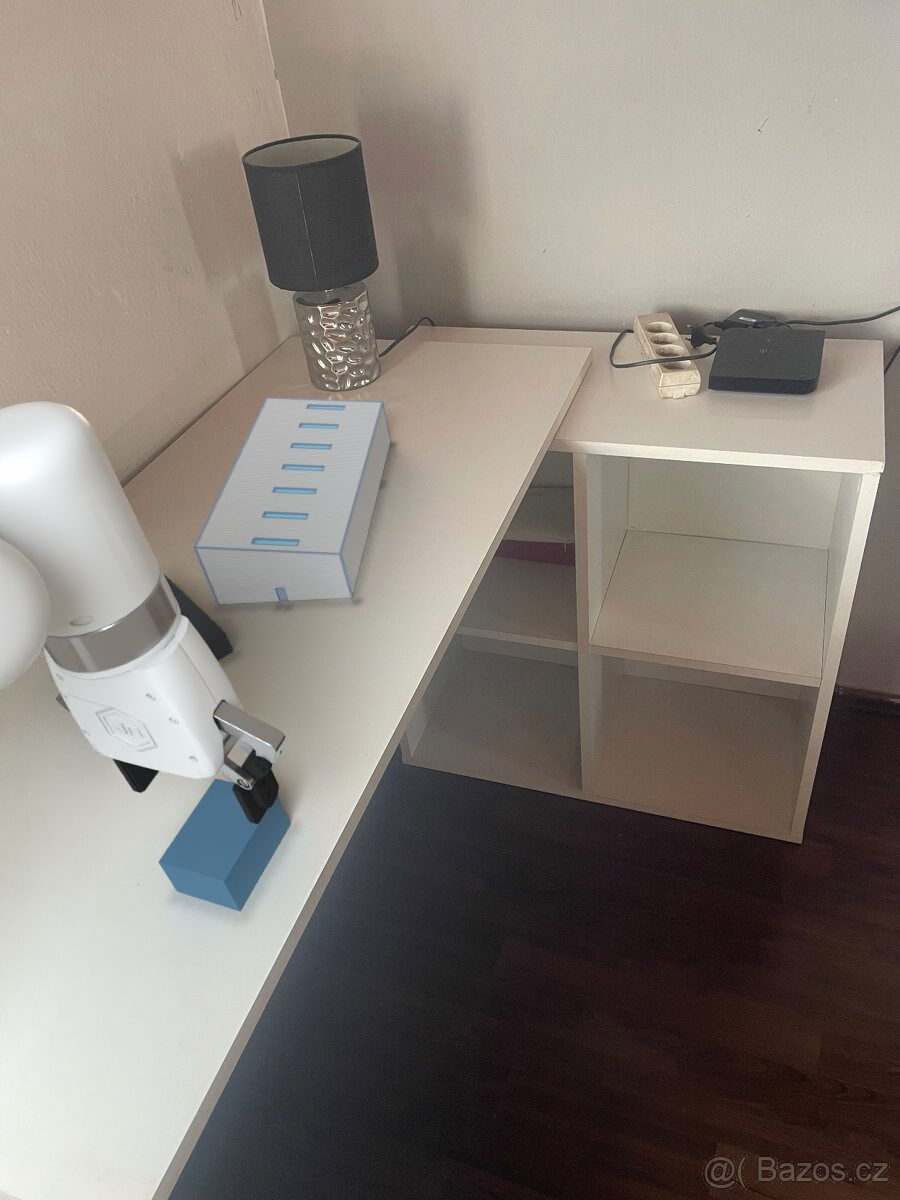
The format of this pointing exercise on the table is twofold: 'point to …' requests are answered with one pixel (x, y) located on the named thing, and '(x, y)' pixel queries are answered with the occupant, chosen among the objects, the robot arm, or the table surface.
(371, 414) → the warehouse
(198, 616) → the dark grey u-frame
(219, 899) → the blue rectangular block
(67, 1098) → the table surface
